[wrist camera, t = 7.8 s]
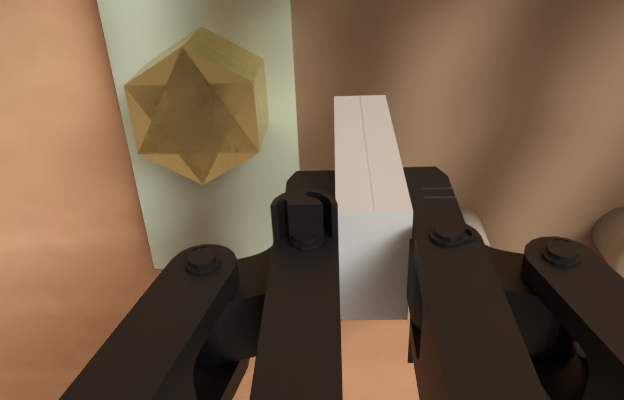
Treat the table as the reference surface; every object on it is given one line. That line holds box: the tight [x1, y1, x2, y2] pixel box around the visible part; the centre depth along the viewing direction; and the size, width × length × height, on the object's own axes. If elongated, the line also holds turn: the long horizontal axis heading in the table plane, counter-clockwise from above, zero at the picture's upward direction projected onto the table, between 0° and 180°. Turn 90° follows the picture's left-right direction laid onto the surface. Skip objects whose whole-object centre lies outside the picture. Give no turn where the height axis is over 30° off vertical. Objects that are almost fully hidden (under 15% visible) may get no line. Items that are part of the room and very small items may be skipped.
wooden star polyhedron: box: [124, 26, 269, 185], centre depth 21 cm, size 4×5×3 cm
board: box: [97, 0, 624, 278], centre depth 20 cm, size 23×17×6 cm
